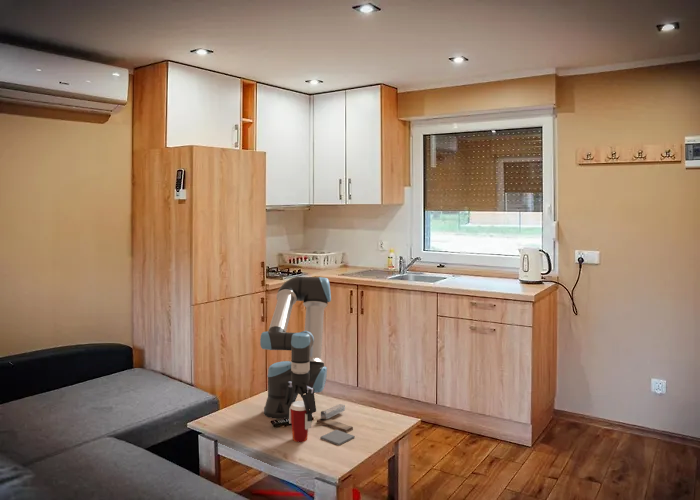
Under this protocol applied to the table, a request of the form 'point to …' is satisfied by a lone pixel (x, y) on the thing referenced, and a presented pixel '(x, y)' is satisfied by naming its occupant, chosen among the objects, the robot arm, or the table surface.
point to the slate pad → (337, 437)
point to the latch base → (335, 425)
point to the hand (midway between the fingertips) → (299, 425)
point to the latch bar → (332, 411)
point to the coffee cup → (298, 421)
